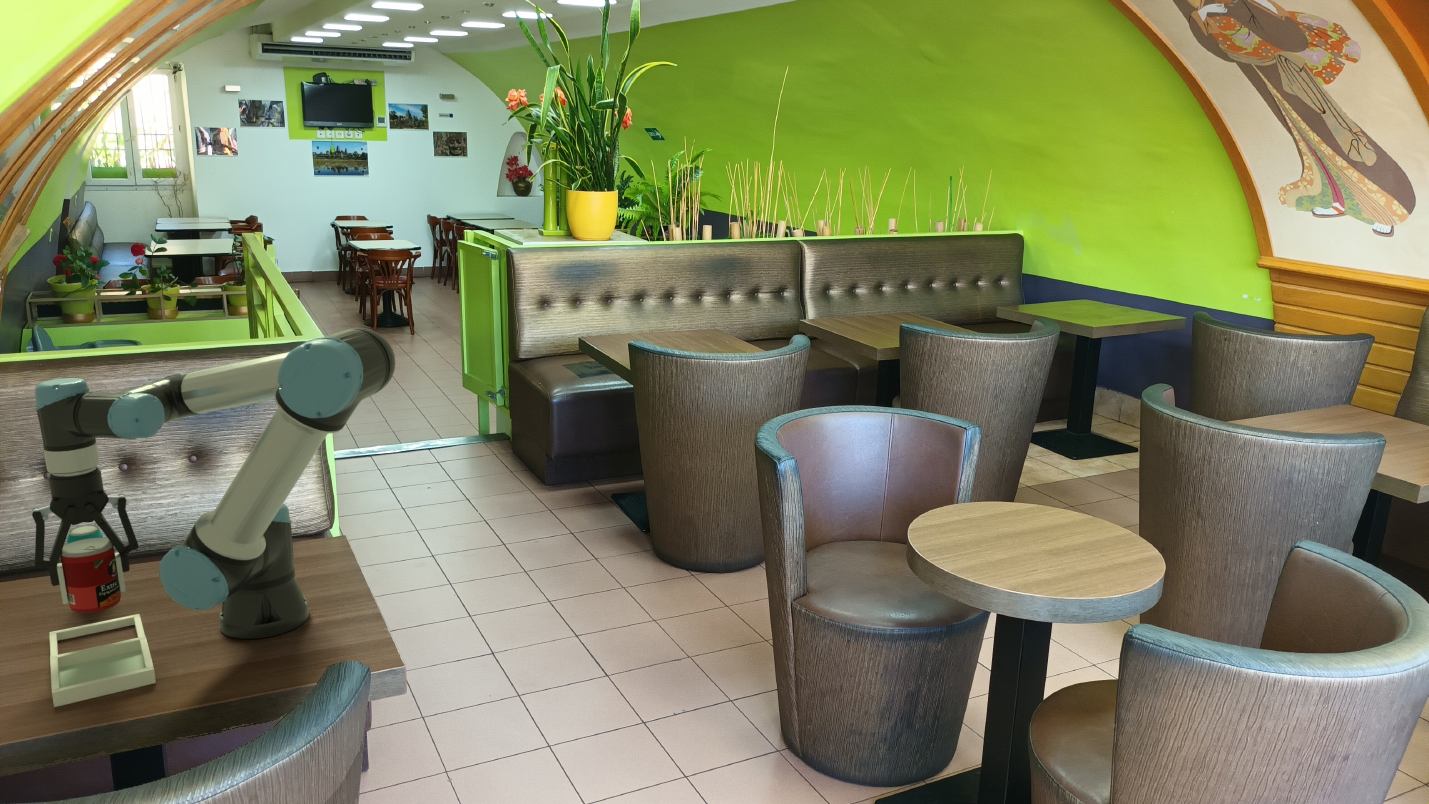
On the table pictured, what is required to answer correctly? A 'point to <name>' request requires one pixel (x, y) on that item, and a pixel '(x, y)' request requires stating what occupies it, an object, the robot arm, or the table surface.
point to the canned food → (90, 575)
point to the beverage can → (84, 533)
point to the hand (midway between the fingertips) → (94, 595)
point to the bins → (99, 663)
